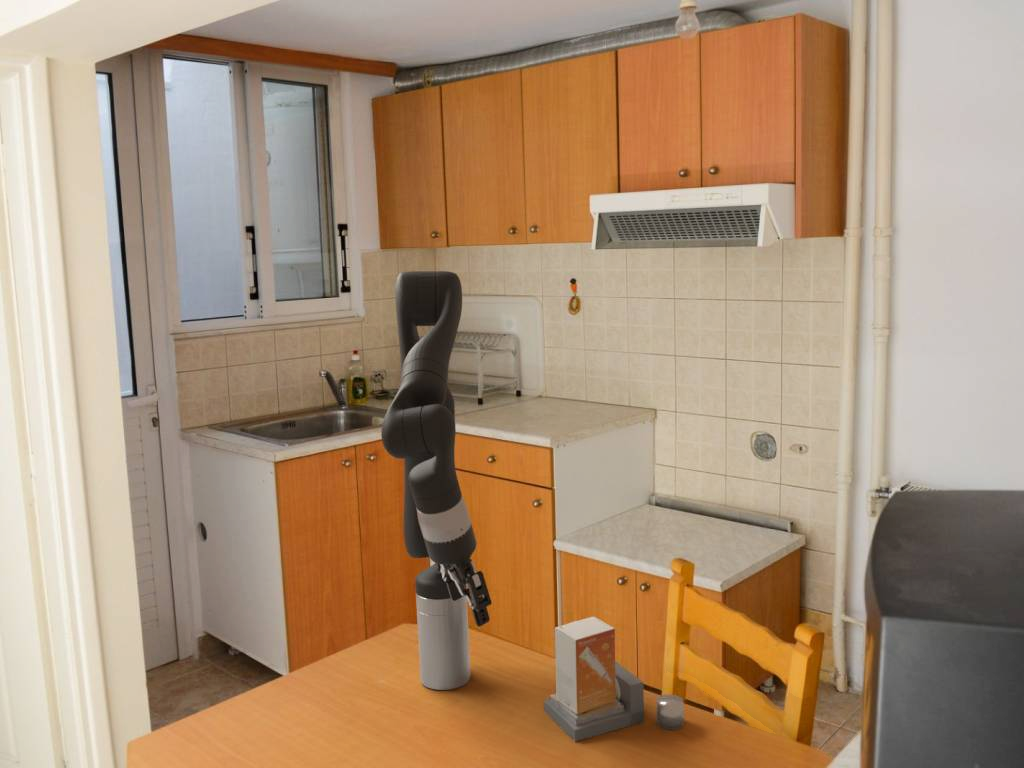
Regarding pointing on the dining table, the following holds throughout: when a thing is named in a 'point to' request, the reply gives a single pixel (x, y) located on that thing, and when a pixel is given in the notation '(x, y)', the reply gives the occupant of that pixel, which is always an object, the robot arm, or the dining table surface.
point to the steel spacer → (670, 712)
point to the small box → (585, 664)
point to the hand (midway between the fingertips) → (470, 610)
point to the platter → (590, 714)
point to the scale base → (626, 694)
